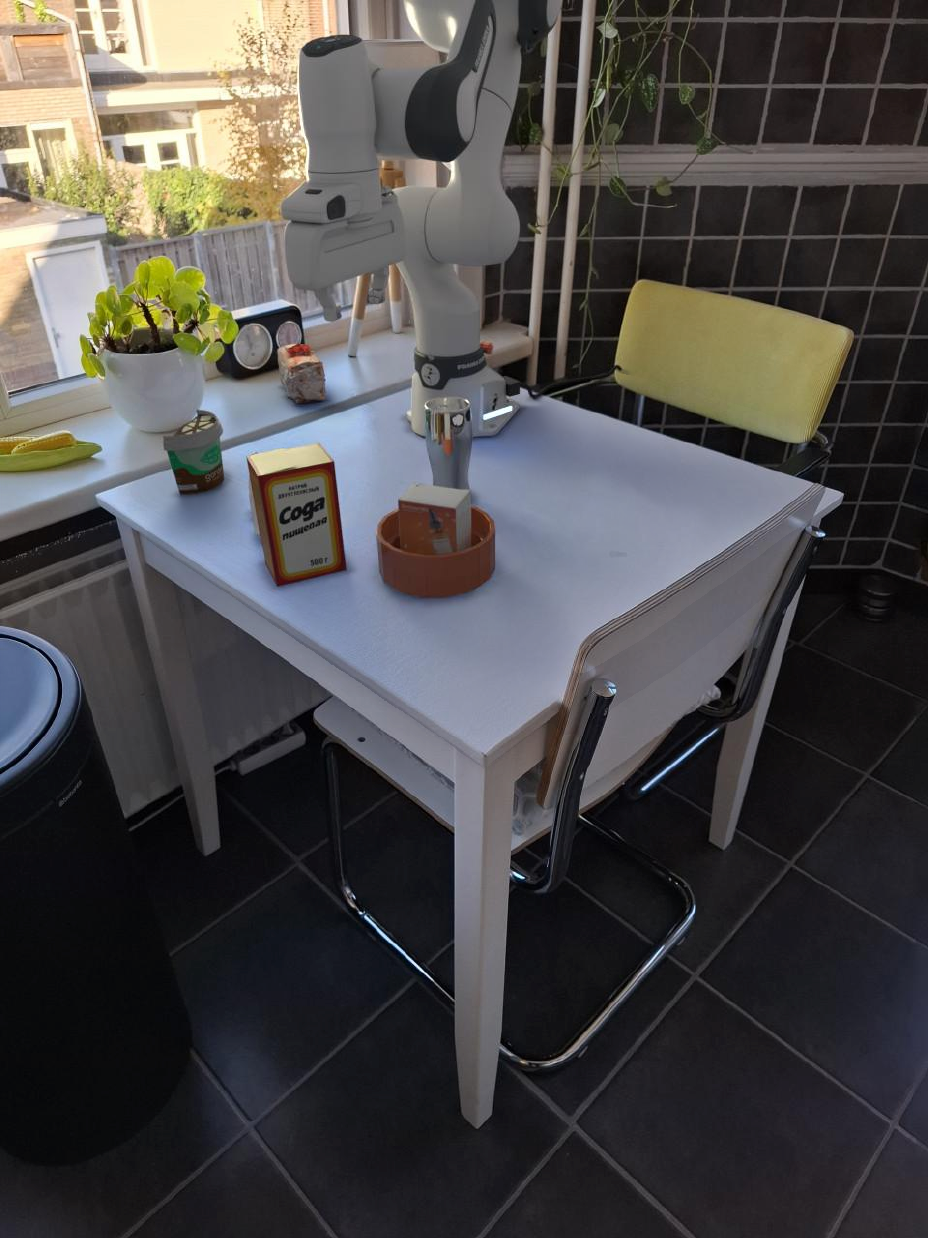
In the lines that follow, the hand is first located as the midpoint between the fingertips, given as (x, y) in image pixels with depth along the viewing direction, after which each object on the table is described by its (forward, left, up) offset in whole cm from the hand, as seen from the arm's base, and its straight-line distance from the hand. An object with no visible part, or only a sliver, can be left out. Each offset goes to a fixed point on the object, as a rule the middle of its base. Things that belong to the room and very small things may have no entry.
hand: (355, 311), depth 114 cm
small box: (+10, +18, -29) cm, 35 cm away
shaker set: (+12, -10, -29) cm, 33 cm away
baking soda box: (+18, +2, -29) cm, 34 cm away
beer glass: (-9, +8, -29) cm, 32 cm away
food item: (-34, -43, -29) cm, 62 cm away
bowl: (+10, +18, -29) cm, 36 cm away
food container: (+5, -29, -29) cm, 42 cm away
